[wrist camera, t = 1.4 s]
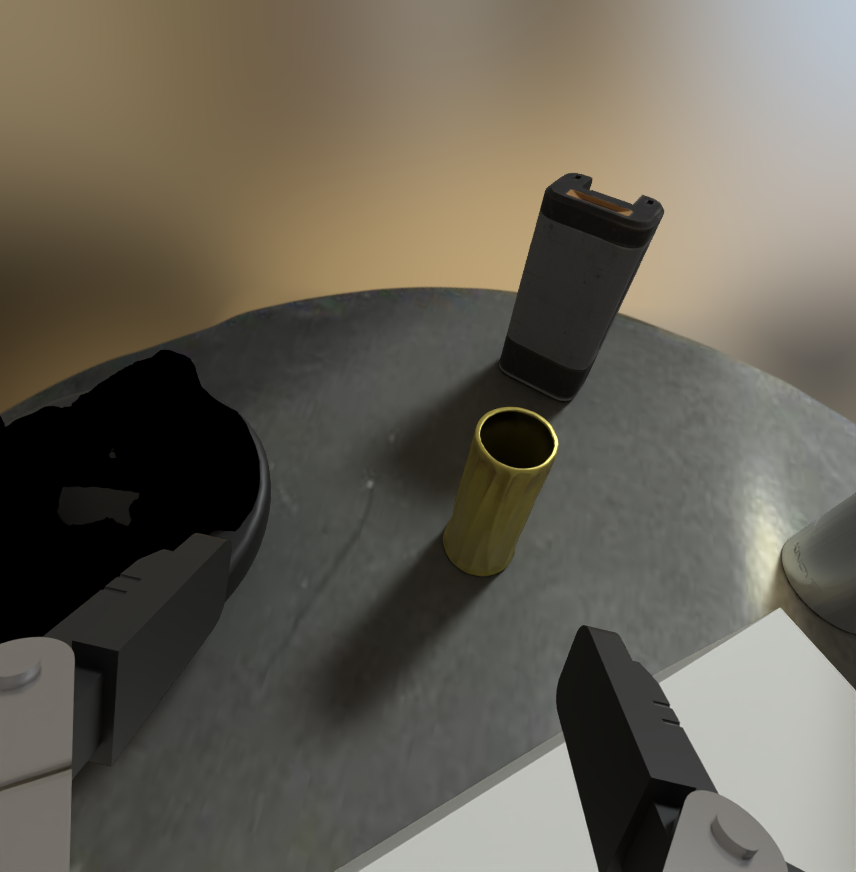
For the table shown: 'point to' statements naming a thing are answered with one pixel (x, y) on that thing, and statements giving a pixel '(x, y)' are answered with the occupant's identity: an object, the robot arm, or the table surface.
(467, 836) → the power box
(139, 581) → the robot arm
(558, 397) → the electronic device
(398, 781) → the table surface
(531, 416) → the vase
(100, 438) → the coal bowl
